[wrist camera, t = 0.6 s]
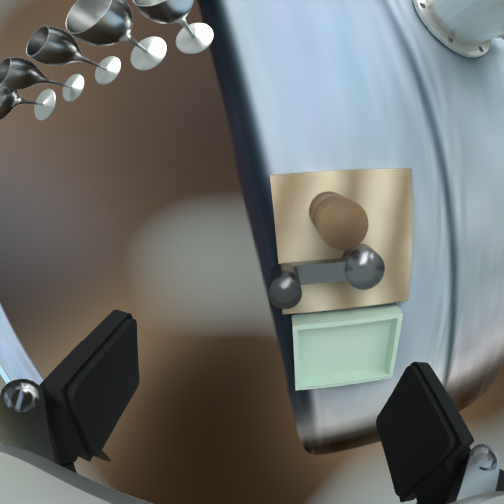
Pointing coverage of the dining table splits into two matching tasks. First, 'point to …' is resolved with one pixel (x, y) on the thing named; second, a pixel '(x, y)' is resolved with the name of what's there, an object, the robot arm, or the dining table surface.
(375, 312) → the tray
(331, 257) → the plate
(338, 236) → the peg
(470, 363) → the dining table surface
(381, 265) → the crank
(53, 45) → the goblet set
